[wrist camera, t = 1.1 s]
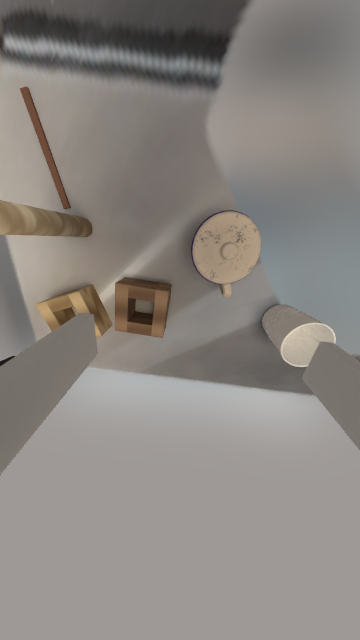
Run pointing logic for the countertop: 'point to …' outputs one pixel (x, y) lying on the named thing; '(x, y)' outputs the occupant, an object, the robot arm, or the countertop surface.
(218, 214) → the teacup with lid
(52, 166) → the brown wooden stick
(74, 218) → the beige wooden dowel
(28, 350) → the robot arm
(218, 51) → the countertop surface
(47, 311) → the light wooden square frame
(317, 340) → the white cup
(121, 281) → the bead dark
